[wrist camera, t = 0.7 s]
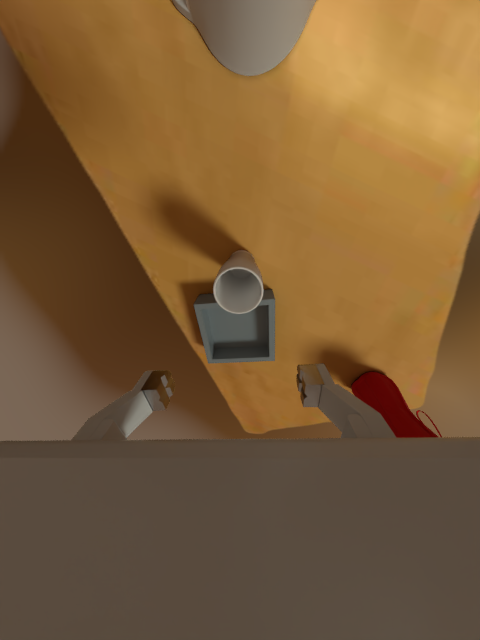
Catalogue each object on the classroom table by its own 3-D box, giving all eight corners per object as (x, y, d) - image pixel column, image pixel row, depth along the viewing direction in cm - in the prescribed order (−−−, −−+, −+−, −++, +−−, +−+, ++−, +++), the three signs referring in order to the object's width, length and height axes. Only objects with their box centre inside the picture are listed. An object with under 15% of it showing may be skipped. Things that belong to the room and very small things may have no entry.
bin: (199, 294, 40) (193, 304, 36) (272, 289, 39) (274, 298, 35) (211, 349, 48) (208, 363, 44) (272, 347, 47) (274, 360, 43)
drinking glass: (220, 271, 37) (205, 303, 25) (232, 238, 34) (223, 256, 21) (249, 284, 39) (249, 321, 26) (264, 254, 35) (274, 280, 22)
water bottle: (398, 372, 50) (510, 493, 29) (369, 395, 55) (445, 511, 34) (371, 362, 48) (469, 482, 27) (344, 387, 54) (407, 503, 32)
